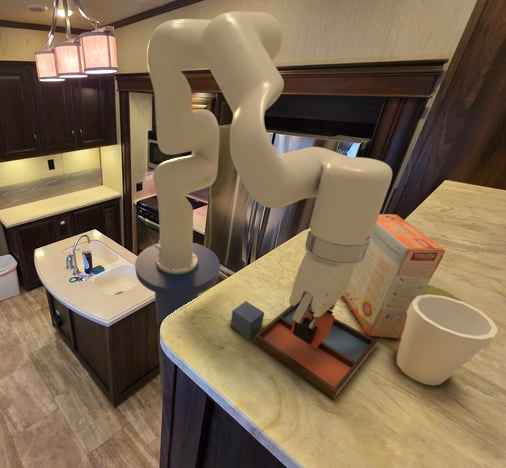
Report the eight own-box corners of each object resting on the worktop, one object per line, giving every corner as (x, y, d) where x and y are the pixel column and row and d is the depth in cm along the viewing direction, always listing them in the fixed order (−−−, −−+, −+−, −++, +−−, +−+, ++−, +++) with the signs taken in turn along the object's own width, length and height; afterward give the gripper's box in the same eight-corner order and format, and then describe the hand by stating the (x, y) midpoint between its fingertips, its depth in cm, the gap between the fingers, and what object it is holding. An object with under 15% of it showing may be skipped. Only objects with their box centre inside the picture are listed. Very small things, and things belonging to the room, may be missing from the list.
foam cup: (399, 338, 56) (425, 287, 50) (464, 373, 50) (504, 318, 43) (376, 363, 52) (402, 311, 46) (444, 405, 45) (485, 350, 39)
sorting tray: (253, 341, 58) (254, 334, 57) (297, 305, 66) (298, 298, 65) (333, 399, 47) (336, 392, 46) (374, 348, 55) (377, 340, 54)
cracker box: (401, 340, 56) (449, 249, 46) (366, 337, 57) (406, 248, 47) (366, 292, 68) (398, 212, 58) (338, 291, 69) (364, 212, 59)
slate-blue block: (230, 325, 62) (232, 310, 60) (243, 316, 65) (245, 300, 62) (248, 338, 59) (250, 323, 57) (261, 327, 61) (264, 312, 59)
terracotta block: (290, 332, 52) (295, 314, 50) (303, 320, 55) (308, 302, 52) (315, 348, 49) (321, 329, 47) (328, 335, 51) (335, 316, 49)
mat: (386, 303, 65) (389, 297, 64) (402, 282, 70) (405, 276, 69) (455, 333, 57) (460, 326, 56) (468, 306, 62) (472, 299, 61)
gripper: (335, 218, 50) (313, 299, 58) (279, 254, 41) (262, 342, 50) (388, 233, 44) (354, 320, 53) (335, 278, 36) (306, 372, 45)
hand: (310, 330), depth 51 cm, fingers closed on terracotta block, 4 cm apart
